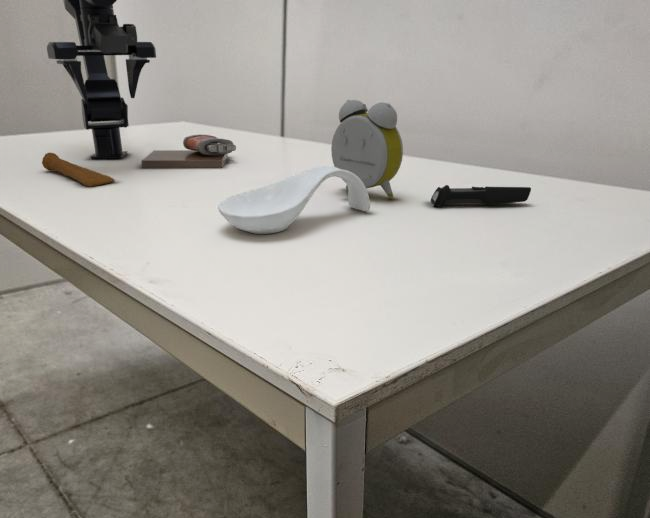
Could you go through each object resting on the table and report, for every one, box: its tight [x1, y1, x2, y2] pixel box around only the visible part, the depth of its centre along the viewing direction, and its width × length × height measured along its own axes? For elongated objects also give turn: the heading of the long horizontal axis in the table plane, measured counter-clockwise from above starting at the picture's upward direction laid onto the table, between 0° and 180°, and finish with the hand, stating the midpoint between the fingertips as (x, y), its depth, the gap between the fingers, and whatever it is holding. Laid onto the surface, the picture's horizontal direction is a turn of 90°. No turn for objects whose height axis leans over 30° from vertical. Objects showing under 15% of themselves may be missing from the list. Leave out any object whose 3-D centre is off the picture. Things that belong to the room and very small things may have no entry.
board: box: [141, 149, 229, 169], centre depth 129 cm, size 12×16×2 cm
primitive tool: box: [41, 152, 115, 187], centre depth 115 cm, size 19×6×4 cm, turn 51°
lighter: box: [182, 134, 237, 155], centre depth 130 cm, size 8×3×10 cm
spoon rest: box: [217, 165, 371, 235], centre depth 88 cm, size 24×12×7 cm, turn 127°
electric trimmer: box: [430, 184, 532, 208], centre depth 98 cm, size 4×16×3 cm, turn 92°
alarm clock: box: [330, 99, 404, 200], centre depth 100 cm, size 12×7×15 cm, turn 47°
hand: (109, 99), depth 119 cm, fingers open, 9 cm apart
